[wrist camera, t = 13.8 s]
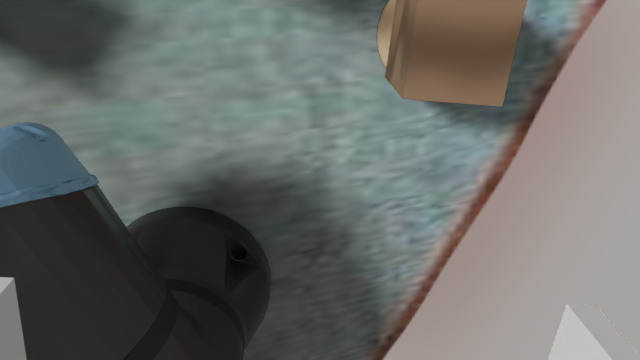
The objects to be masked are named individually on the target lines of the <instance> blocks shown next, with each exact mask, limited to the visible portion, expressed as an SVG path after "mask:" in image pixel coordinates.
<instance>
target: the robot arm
mask: <svg viewBox="0 0 640 360" xmlns="http://www.w3.org/2000/svg"><path fill="white" fill-rule="evenodd" d="M98 183H99V182H98V180H97V178H96V177H95V176H94V175H90V174H89V173H88V171H87V170H86V169H85V167H84V166H83V165H82V164H81V162H80V161H79V160H78V159H77V157H76V156H75V155H74V154H73V152H72V151H71V150H70V149H69V147H68V146H67V145H66V143H65V142H64V141H63V140H62V138H61V137H60V136H59V135H58V134H57V133H56V132H55V131H53V130H52V129H50V128H48V127H46V126H44V125H41V124H37V123H31V122H24V123H17V124H13V125H10V126H7V127H4V128H1V129H0V360H243V357H244V349H245V347H246V346H247V344H248V343H249V341H250V339H251V338H252V336H253V335H254V333H255V331H256V330H257V328H258V327H259V325H260V323H261V322H262V320H263V318H264V315H265V313H266V310H267V307H268V303H269V296H270V269H269V265H268V262H267V259H266V256H265V254H264V252H263V250H262V248H261V247H260V245H259V244H258V242H257V241H256V240H255V238H254V237H253V236H252V235H251V234H250V233H249V232H248V231H247V230H246V229H244V228H243V227H242V226H241V225H239V224H238V223H236V222H235V221H233V220H231V219H230V218H228V217H226V216H223V215H221V214H219V213H216V212H213V211H210V210H205V209H201V208H194V207H173V208H166V209H161V210H157V211H154V212H151V213H149V214H146V215H144V216H142V217H140V218H138V219H137V220H135V221H134V222H132V223H131V224H129V225H128V226H127V227H126V226H125V224H124V223H123V222H122V220H121V219H120V217H119V216H118V214H117V213H116V212H115V210H114V209H113V207H112V206H111V204H110V203H109V201H108V200H107V198H106V197H105V195H104V194H103V192H102V191H101V189H100V188H99V186H98V185H97V184H98ZM548 360H640V354H639V353H638V352H637V350H636V349H635V348H634V347H633V346H632V345H631V344H630V343H629V342H628V340H627V339H626V338H625V337H624V336H623V335H622V334H621V333H620V331H619V330H618V329H617V328H616V327H615V326H614V325H613V324H612V322H611V321H610V320H609V319H608V318H607V317H606V316H605V315H604V314H603V312H602V311H601V310H600V309H599V308H598V307H597V306H596V305H584V304H567V305H566V308H565V311H564V314H563V317H562V320H561V323H560V326H559V329H558V332H557V335H556V338H555V340H554V344H553V346H552V350H551V353H550V355H549V358H548Z"/></svg>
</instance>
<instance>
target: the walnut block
mask: <svg viewBox="0 0 640 360" xmlns="http://www.w3.org/2000/svg"><path fill="white" fill-rule="evenodd" d="M526 3H527V0H396V3H395V10H394V17H393V25H392V32H391V39H390V46H389V53H388V60H387V67H386V74H385V78H386V79H387V80H388V81H389V83H390V84H391V85H392V86H393V87H394V89H395V90H396V91H397V92H398V94H399V95H400V96H401V97H402V98H403V99H411V100H424V101H437V102H450V103H462V104H475V105H488V106H501V107H502V105H503V101H504V97H505V92H506V88H507V84H508V80H509V75H510V71H511V67H512V63H513V58H514V54H515V50H516V45H517V41H518V37H519V33H520V28H521V24H522V20H523V16H524V11H525V7H526Z"/></svg>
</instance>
